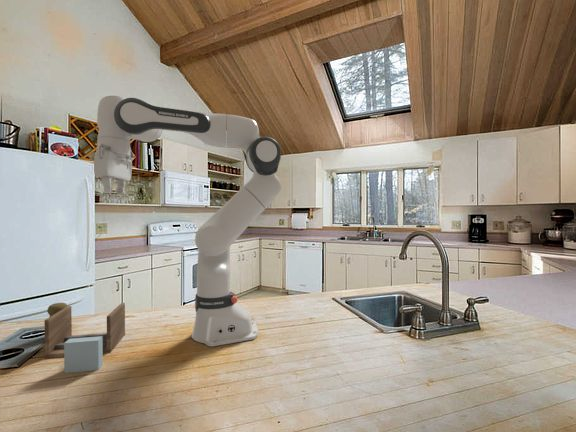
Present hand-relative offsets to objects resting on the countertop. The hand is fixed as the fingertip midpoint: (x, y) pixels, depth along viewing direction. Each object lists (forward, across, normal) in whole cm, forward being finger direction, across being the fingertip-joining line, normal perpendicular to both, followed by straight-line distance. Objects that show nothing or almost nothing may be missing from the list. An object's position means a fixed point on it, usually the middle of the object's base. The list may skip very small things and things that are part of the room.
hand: (114, 193), depth 89 cm
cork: (+48, +8, +20) cm, 53 cm away
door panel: (+48, -15, +2) cm, 50 cm away
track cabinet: (+48, -1, +7) cm, 49 cm away
